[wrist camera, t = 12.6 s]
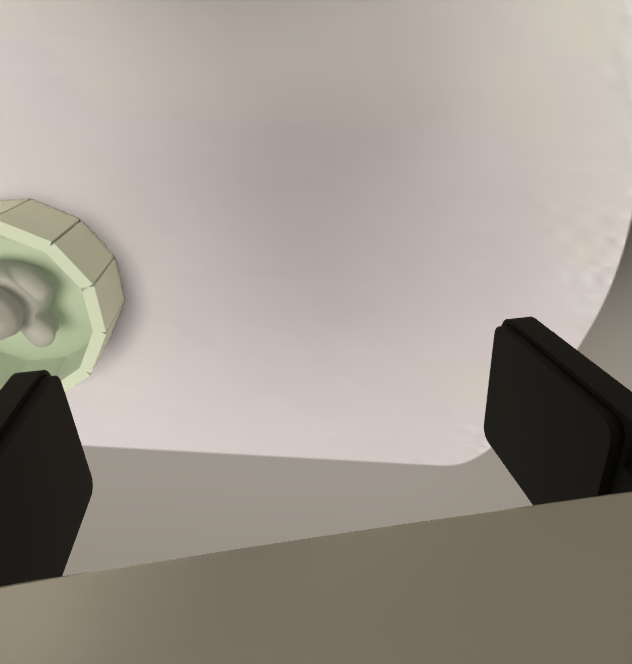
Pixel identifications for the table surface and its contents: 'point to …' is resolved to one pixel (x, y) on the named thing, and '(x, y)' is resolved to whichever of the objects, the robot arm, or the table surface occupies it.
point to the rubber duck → (26, 303)
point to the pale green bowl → (61, 290)
